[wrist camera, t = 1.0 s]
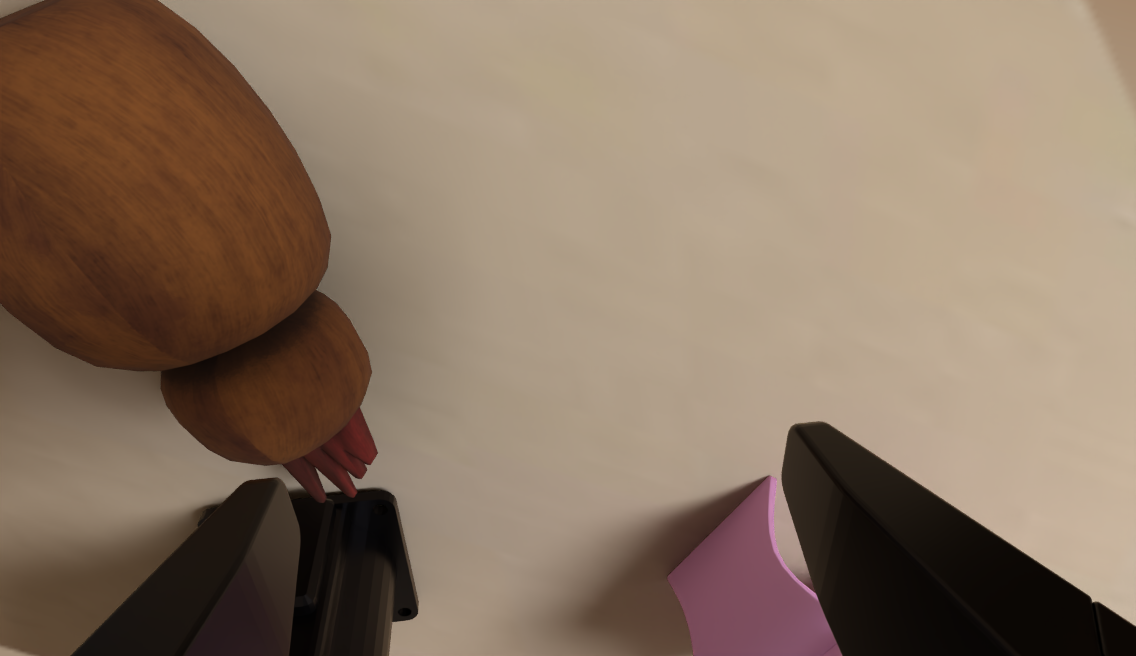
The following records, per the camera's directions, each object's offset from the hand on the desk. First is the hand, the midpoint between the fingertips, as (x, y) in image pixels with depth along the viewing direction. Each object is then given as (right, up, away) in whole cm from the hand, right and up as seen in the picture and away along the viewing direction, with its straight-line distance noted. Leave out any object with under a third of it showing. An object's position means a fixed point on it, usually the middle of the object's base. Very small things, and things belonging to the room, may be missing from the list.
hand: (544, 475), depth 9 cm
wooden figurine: (-10, +8, +5) cm, 14 cm away
